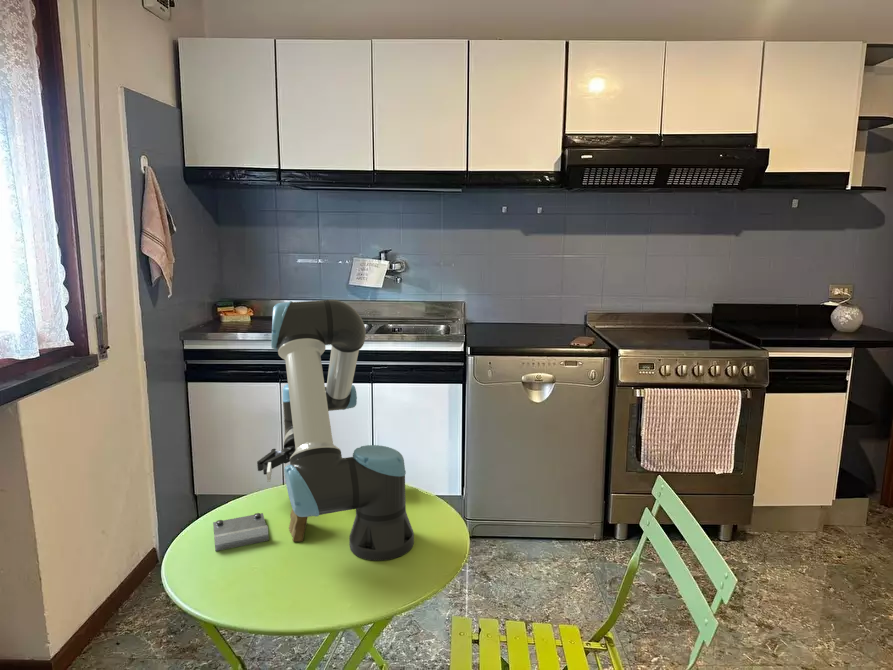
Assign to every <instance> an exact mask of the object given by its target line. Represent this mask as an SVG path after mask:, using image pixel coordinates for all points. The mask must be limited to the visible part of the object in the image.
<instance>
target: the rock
mask: <svg viewBox="0 0 893 670" xmlns="http://www.w3.org/2000/svg"><path fill="white" fill-rule="evenodd" d="M308 518H309V517H299V516H297V515H296V514H295V513H294V511H293V508H292V509H291V511H290V518H289V519H290V522H289V525H288V531H289V533H290V535H291V537H292V542H297V543H298V542H299V543H301V542H303V541H304V537H305V534H306V533H305V532H306V527H307V524H308Z"/></svg>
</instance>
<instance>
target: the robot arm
mask: <svg viewBox="0 0 893 670" xmlns="http://www.w3.org/2000/svg"><path fill="white" fill-rule="evenodd" d="M271 318H272V322H271V323H272V324H271V340H270V341H271V346H270V347H271V349H273V350H276V351H277V354H278V356H279V357H280V358H281V359H282V360H284V362H285V370H286V377H287V378H286V379H287V383H286V384H285V385H284V386H283V387H282V403H283V404H282V405H283V419H284V420H283V421H284V423H283V424H284V439H283V447H282V448H283V449H281V450H277V449H276V448H272V449H271V450H270V451H269V452H268V453H267V454H266V455H264V456H262V458H260V459H259V460H258V461H257V462H256V463H257V471H258V472H262V471H263V472H262V473H263V475H266V481H267V483H271V478H272V473H273V469H275V468H277V467H279V466H280V465H281V466H282V464H284V465H285V464H287V463H289V464H288V465H286V466H285V467H284V469H283V472H284V479H285V484H286V485H285V486H286V490H287V494H288V499H289V501H290V506H291V508H292V509H293V511H294V513H295V514H296V515H297V516H299V517H308V518H309V517H319V516H321V515H327V514H332V513H333V514H334V513H338V512H345V511H351V510H352V511H353V510H355V517H354V520H353V523H352V527H351V531H350V533H349V538H348V539H349V549H350V551H351V553H352V554H353V555H355V556H356V557H358V558H360V559H363V560H368V561H378V562H379V561H387V560H393V559H397V558H399V557H402V556H404V555H406V554H407V553H408V552H410V550H412V548H413V547H414V543H415V538H414V535H415V534H414V529H413V526H412V524H411V522H410V519H409V515H408V513H407V507H406V504H407V503H406V502H407V501H406V473H407V472H406V467H405V459H404V456H403V455H402V453H401V452H400V451H398V450H397V449H394V448H392V447H389V446H384V445H379V444H377V445H376V444H373V445H372V444H370V445H369V444H367V445H366V444H365V445H361V446H359V447H357V448H355V449H354V450H353V453H352V456H348V457H342V455H343V454H342V451H341V448H340V447H338V446H336V445H335V444H334V440H333V436H332V427H331V419H330V413H329V412H332V411H341V410H343V411H344V410H349V409H354V408H356V406H357V404H358V401H357V399H358V396H357V390H356V389H357V388H356V387H355V385H353V382H354V377H355V372H356V366H357V362H358V356H359V353H360V350H361V349H362V348H363V346H364V344H365V340H366V325H365V323H364V320H363V319H362V317H361V315H360V314H359V313H358V311H356V310H355V308H353V307H352V306H351V305H349V304H348V303H346V302H344V301H341V300H339V299H338V300H337V299H327V300H326V299H325V300H306V301H305V300H304V301H291V300H290V301H288V302H279V303H276V304H275V305H274V306H273V307H272V317H271ZM329 345H331V348H330V355H329V356H330V358H329V364H328V371H327V381H326V385H325V378H324V371H323V364H322V358H321V356H322V355H324V352H325V351H326V346H329Z"/></svg>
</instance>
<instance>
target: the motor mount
mask: <svg viewBox="0 0 893 670" xmlns="http://www.w3.org/2000/svg"><path fill="white" fill-rule="evenodd" d="M212 525H213V538H214V550H215V552H219V551H222V550H228V549H233V548H238V547H243V546H248V545H252V544H258V543H263V542H268V541H269V539H270V538H269V527H268V525H267V523H266V521H265V517H264V513H263V512H260V513H259V512H257V513H254V514H250V515H245V516H240V517H234V518H229V519H223V520H222V519H219V520H216V521H213V522H212Z"/></svg>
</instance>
